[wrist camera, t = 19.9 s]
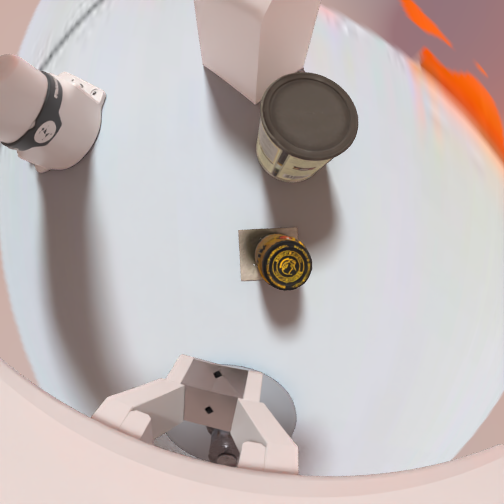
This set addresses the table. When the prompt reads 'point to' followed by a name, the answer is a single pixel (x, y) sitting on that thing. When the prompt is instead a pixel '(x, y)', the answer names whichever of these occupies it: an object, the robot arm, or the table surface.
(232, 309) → the table surface
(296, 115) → the coffee can
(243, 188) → the table surface
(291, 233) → the condiment
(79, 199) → the table surface
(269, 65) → the milk
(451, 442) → the table surface
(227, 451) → the urn
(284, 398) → the turntable
